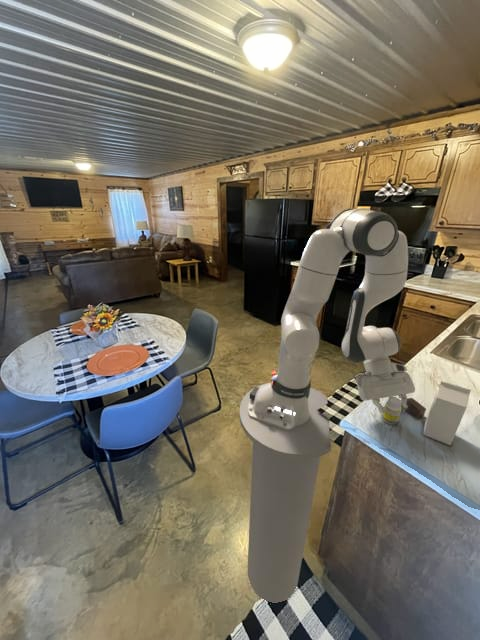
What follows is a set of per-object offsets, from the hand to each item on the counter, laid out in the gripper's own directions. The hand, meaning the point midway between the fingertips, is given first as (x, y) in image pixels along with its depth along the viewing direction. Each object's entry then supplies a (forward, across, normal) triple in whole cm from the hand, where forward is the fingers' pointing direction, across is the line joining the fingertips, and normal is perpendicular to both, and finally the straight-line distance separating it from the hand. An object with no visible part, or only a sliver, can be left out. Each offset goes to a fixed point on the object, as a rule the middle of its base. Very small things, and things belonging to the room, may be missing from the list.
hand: (394, 410), depth 89 cm
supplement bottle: (+3, 0, +4) cm, 5 cm away
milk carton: (+9, +11, -2) cm, 14 cm away
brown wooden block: (+2, +11, +4) cm, 12 cm away
